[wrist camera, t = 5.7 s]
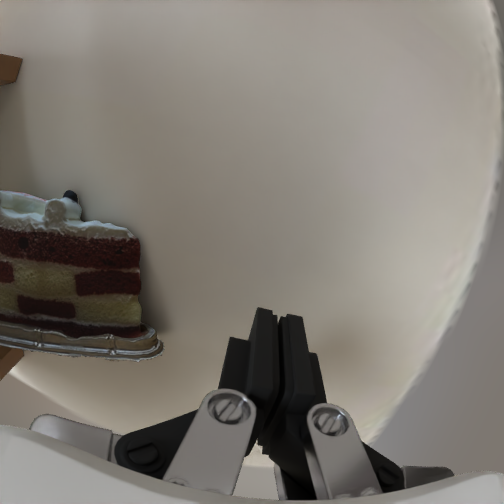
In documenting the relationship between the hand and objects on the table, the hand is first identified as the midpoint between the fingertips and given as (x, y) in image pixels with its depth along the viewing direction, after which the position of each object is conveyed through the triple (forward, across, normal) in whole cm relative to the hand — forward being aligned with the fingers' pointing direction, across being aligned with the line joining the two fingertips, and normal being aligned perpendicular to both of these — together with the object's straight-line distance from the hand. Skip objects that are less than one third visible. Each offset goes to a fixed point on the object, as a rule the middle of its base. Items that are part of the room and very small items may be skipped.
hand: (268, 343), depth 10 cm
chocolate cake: (+3, +10, 0) cm, 11 cm away
